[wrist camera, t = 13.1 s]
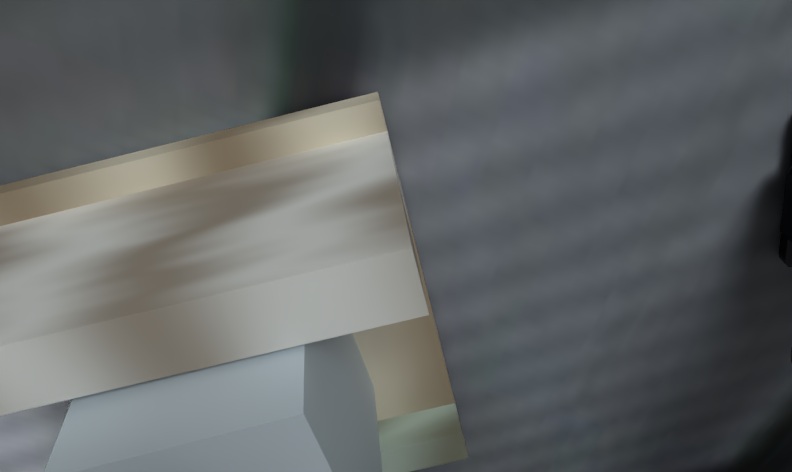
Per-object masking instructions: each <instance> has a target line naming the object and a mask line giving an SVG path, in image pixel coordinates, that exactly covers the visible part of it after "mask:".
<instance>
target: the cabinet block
mask: <svg viewBox="0 0 792 472" xmlns="http://www.w3.org/2000/svg"><path fill="white" fill-rule="evenodd" d="M44 472H382V462H381V452H380V442H379V432H378V422H377V412H376V402H375V392H374V386H373V383H372V381H371V378H370V376H369V373H368V371H367V368H366V365H365V363H364V360H363V358H362V355H361V353H360V350H359V348H358V345H357V343H356V340H355V338H354V335H353V333H350V334H346V335H342V336H338V337H333V338H329V339H325V340H321V341H316V342H312V343H308V344H304V345H299V346H295V347H291V348H286V349H282V350H278V351H274V352H269V353H265V354H261V355H257V356H252V357H248V358H244V359H240V360H235V361H231V362H227V363H223V364H218V365H214V366H210V367H206V368H201V369H197V370H193V371H189V372H184V373H180V374H176V375H172V376H167V377H163V378H159V379H155V380H150V381H146V382H142V383H138V384H133V385H129V386H125V387H121V388H116V389H112V390H108V391H104V392H99V393H95V394H91V395H87V396H82V397H78V398H74V399H72V402H71V404H70V407H69V409H68V412H67V414H66V417H65V420H64V422H63V425H62V427H61V430H60V432H59V435H58V438H57V440H56V443H55V445H54V448H53V450H52V453H51V455H50V458H49V461H48V463H47V466H46V468H45V471H44Z"/></svg>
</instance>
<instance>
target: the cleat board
mask: <svg viewBox="0 0 792 472" xmlns="http://www.w3.org/2000/svg"><path fill="white" fill-rule="evenodd" d="M350 333H353V335H354V338H355V340H356V343H357V345H358V348H359V350H360V353H361V355H362V358H363V360H364V363H365V365H366V368H367V371H368V373H369V376H370V378H371V381H372V383H373V386H374V392H375V402H376V412H377V422H378V432H379V442H380V452H381V462H382V472H410V471H415V470H419V469H424V468H428V467H432V466H437V465H441V464H446V463H450V462H454V461H459V460H463V459H468V455H467V449H466V444H465V440H464V436H463V432H462V428H461V424H460V420H459V416H458V412H457V408H456V404H455V400H454V396H453V392H452V388H451V384H450V380H449V376H448V372H447V368H446V364H445V360H444V356H443V352H442V348H441V344H440V340H439V336H438V332H437V328H436V324H435V320H434V315H433V311H432V307H431V303H430V299H429V295H428V291H427V287H426V283H425V279H424V275H423V271H422V267H421V263H420V259H419V255H418V251H417V247H416V243H415V239H414V235H413V231H412V227H411V223H410V219H409V215H408V211H407V207H406V203H405V199H404V195H403V191H402V187H401V183H400V179H399V175H398V171H397V167H396V163H395V159H394V155H393V151H392V147H391V143H390V139H389V135H388V131H387V127H386V123H385V119H384V115H383V111H382V107H381V103H380V99H379V95H378V92H375V93H371V94H367V95H363V96H359V97H355V98H351V99H347V100H343V101H339V102H335V103H331V104H327V105H323V106H319V107H315V108H310V109H306V110H302V111H298V112H294V113H290V114H286V115H282V116H278V117H274V118H270V119H266V120H262V121H258V122H254V123H250V124H246V125H242V126H238V127H234V128H230V129H226V130H222V131H218V132H214V133H210V134H206V135H202V136H198V137H194V138H190V139H186V140H182V141H178V142H174V143H170V144H166V145H162V146H158V147H154V148H150V149H146V150H141V151H137V152H133V153H129V154H125V155H121V156H117V157H113V158H109V159H105V160H101V161H97V162H93V163H89V164H85V165H81V166H77V167H73V168H69V169H65V170H61V171H57V172H53V173H49V174H45V175H41V176H37V177H33V178H29V179H25V180H21V181H17V182H13V183H9V184H5V185H1V186H0V416H1V415H6V414H10V413H14V412H18V411H23V410H27V409H31V408H36V407H40V406H44V405H48V404H53V403H57V402H61V401H65V400H70V399H74V398H78V397H82V396H87V395H91V394H95V393H99V392H104V391H108V390H112V389H116V388H121V387H125V386H129V385H133V384H138V383H142V382H146V381H150V380H155V379H159V378H163V377H167V376H172V375H176V374H180V373H184V372H189V371H193V370H197V369H201V368H206V367H210V366H214V365H218V364H223V363H227V362H231V361H235V360H240V359H244V358H248V357H252V356H257V355H261V354H265V353H269V352H274V351H278V350H282V349H286V348H291V347H295V346H299V345H304V344H308V343H312V342H316V341H321V340H325V339H329V338H333V337H338V336H342V335H346V334H350Z"/></svg>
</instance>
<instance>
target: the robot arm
mask: <svg viewBox="0 0 792 472" xmlns="http://www.w3.org/2000/svg"><path fill="white" fill-rule="evenodd" d="M780 232H781V240H780V248H779V257H780V259H781V260H782V261H783V262H784V263H785V264H786V265H787V266H789V267H792V156H791V164H790V169H789V171H788V173H787V178H786V186H785V194H784V201H783V209H782V217H781V225H780ZM791 362H792V349H791Z"/></svg>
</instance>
